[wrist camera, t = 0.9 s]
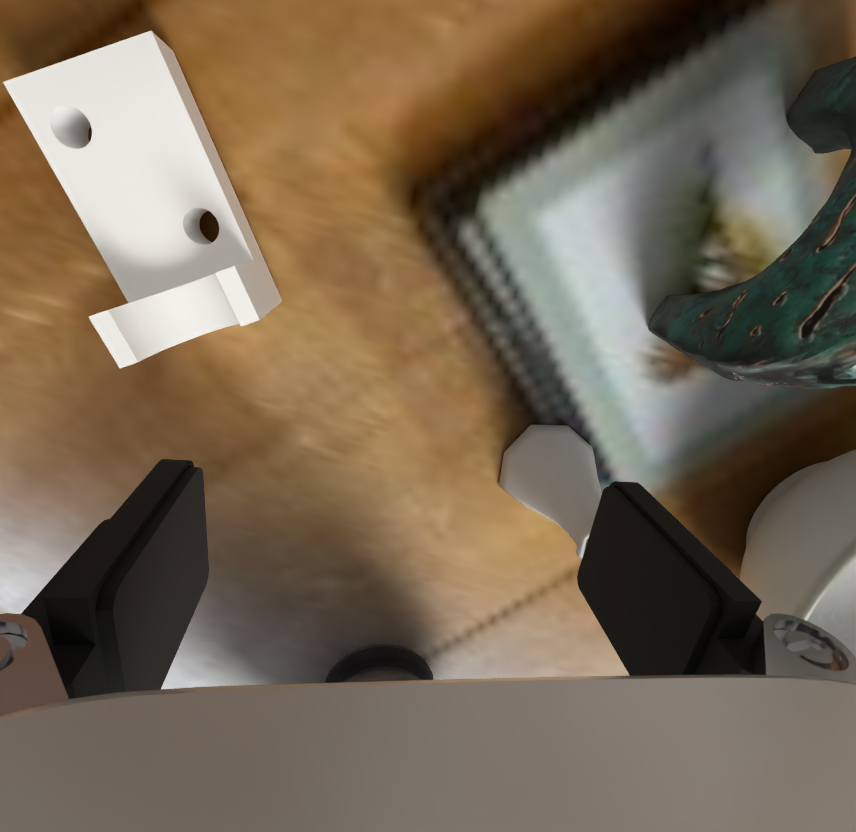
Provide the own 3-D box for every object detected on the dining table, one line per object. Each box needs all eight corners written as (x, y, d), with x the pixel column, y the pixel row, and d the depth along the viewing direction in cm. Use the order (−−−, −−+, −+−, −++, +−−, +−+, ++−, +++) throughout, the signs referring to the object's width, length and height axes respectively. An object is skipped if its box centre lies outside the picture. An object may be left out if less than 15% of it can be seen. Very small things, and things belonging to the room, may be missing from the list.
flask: (482, 490, 36) (523, 580, 27) (524, 408, 34) (584, 474, 25) (561, 515, 38) (625, 607, 29) (605, 438, 36) (690, 511, 27)
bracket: (284, 298, 29) (259, 320, 22) (178, 335, 29) (119, 368, 22) (179, 57, 24) (105, -13, 17) (51, 102, 24) (-75, 50, 17)
